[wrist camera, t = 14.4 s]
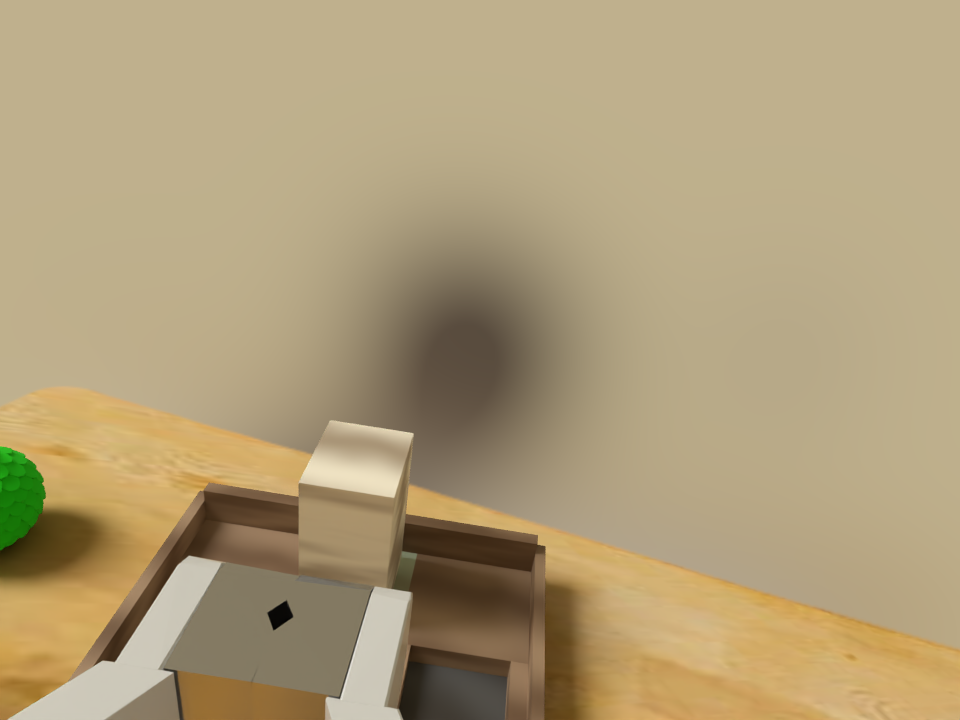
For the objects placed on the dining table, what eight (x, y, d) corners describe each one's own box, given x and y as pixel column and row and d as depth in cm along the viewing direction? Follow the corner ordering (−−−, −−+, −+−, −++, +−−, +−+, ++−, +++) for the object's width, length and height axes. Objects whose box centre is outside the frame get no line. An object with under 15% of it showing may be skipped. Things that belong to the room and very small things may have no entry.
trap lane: (527, 1037, 32) (546, 992, 30) (-58, 936, 32) (-87, 884, 30) (537, 581, 56) (547, 536, 54) (203, 528, 57) (199, 480, 54)
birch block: (382, 629, 48) (394, 497, 42) (298, 615, 48) (298, 482, 42) (401, 556, 54) (413, 433, 48) (326, 544, 54) (330, 420, 49)
